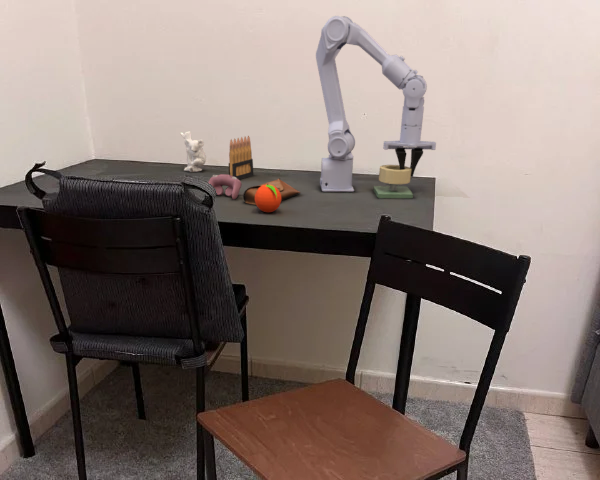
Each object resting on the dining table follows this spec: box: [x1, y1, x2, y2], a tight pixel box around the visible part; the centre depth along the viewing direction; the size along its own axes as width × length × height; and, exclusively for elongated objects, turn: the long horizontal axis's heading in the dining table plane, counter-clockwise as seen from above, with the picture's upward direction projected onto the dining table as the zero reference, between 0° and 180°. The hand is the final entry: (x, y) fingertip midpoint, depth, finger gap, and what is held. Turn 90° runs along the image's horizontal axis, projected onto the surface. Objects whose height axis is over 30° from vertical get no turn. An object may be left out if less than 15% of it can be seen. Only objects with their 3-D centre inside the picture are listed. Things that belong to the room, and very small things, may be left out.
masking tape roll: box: [378, 164, 412, 185], centre depth 177 cm, size 9×9×4 cm
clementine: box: [255, 184, 282, 213], centre depth 159 cm, size 8×7×7 cm
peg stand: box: [372, 184, 414, 199], centre depth 178 cm, size 10×10×6 cm
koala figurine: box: [179, 130, 207, 173], centre depth 201 cm, size 8×7×12 cm
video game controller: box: [207, 173, 242, 200], centre depth 173 cm, size 10×5×7 cm, turn 71°
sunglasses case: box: [242, 177, 301, 206], centre depth 173 cm, size 18×7×7 cm
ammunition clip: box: [228, 135, 254, 180], centre depth 193 cm, size 11×2×12 cm, turn 148°
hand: (406, 176), depth 178 cm, fingers closed on masking tape roll, 2 cm apart
